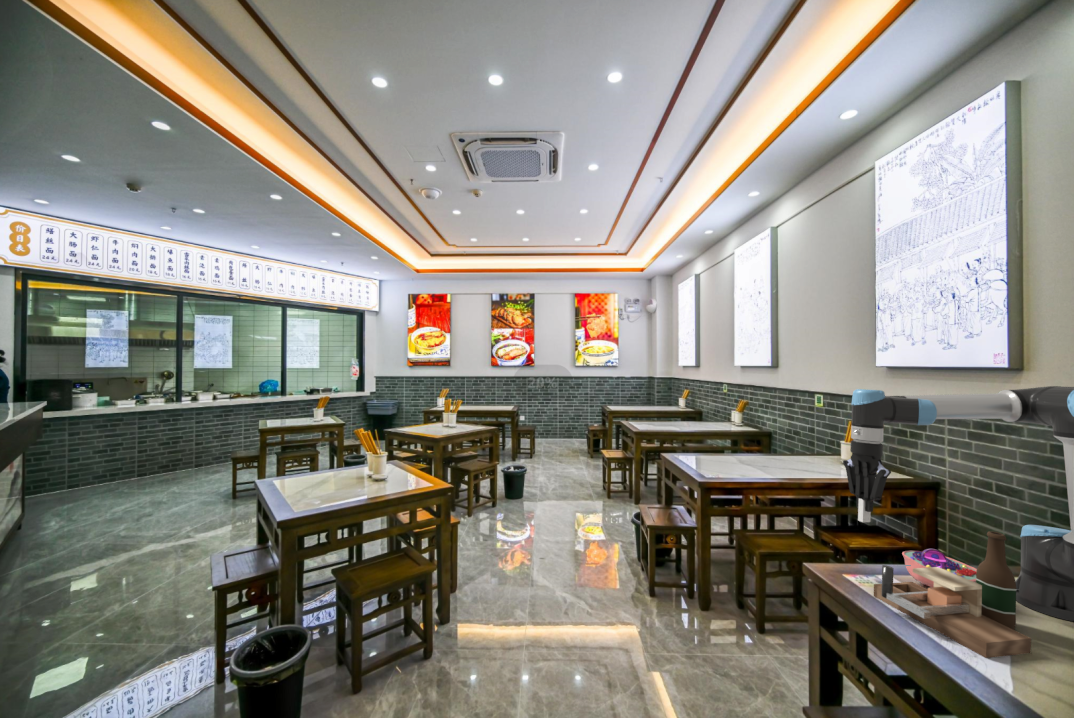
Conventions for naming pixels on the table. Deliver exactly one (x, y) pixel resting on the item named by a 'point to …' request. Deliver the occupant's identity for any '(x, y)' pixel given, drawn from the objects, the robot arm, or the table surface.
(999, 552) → the beer bottle
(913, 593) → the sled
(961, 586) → the tunnel
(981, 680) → the table surface
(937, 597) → the block
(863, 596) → the table surface
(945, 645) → the table surface
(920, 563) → the cell model
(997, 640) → the base
